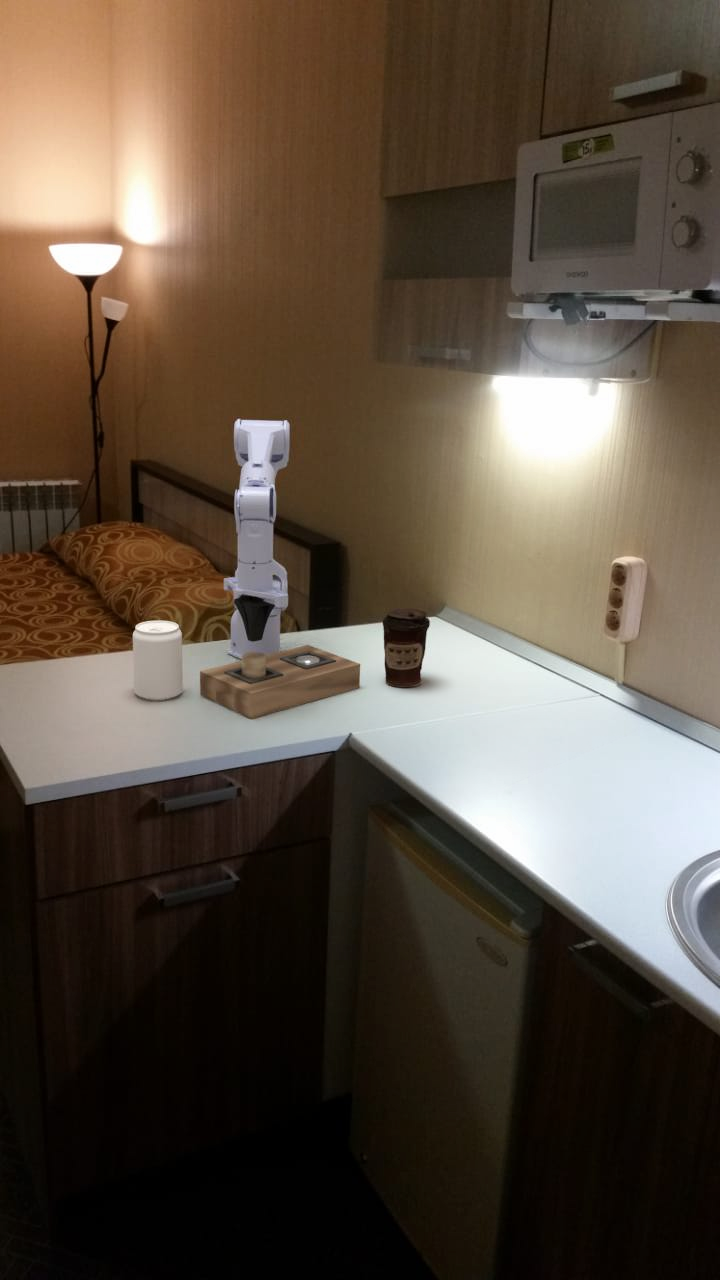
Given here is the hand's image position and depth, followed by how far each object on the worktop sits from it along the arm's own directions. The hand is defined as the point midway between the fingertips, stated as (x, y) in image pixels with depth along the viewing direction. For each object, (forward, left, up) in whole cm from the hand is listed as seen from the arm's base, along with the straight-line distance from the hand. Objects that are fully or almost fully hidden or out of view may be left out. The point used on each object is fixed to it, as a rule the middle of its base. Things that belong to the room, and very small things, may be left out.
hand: (254, 639), depth 181 cm
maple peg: (0, 0, -8) cm, 8 cm away
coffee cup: (+10, +26, -11) cm, 30 cm away
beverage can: (-12, -11, -11) cm, 20 cm away
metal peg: (0, +12, -10) cm, 16 cm away
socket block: (0, +6, -10) cm, 12 cm away
